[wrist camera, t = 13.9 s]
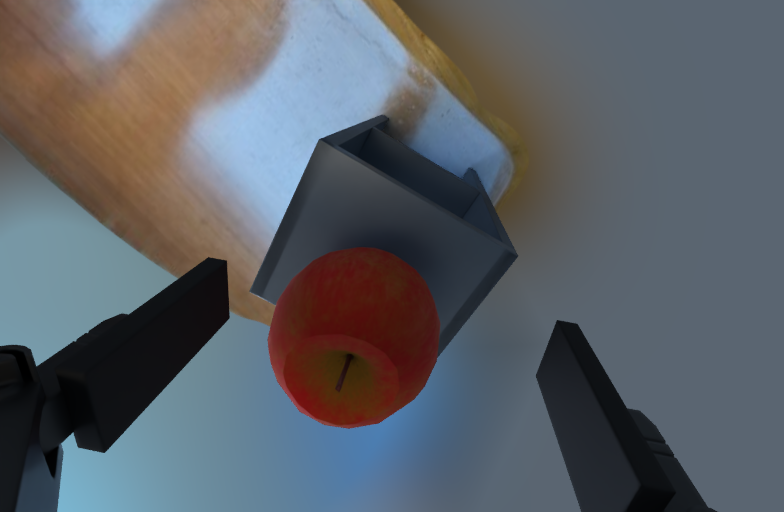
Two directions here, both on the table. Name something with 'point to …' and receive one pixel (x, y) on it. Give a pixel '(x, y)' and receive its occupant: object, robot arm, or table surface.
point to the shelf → (392, 221)
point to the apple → (354, 337)
